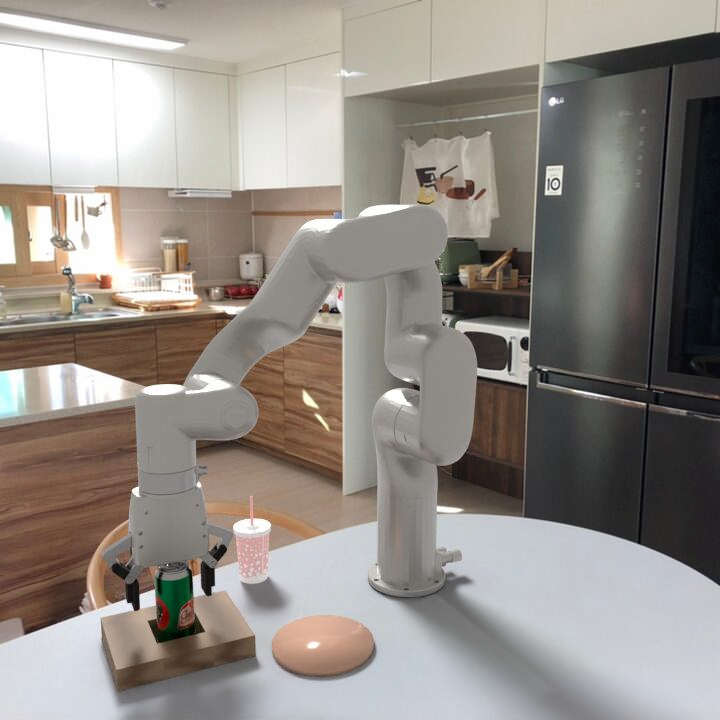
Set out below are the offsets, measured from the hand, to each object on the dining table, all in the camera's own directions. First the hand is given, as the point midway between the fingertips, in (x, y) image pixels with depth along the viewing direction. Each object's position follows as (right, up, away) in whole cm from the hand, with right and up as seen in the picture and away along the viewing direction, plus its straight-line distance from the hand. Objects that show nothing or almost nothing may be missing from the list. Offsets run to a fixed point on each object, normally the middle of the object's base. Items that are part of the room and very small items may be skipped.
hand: (171, 599), depth 104 cm
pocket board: (0, -7, +2) cm, 7 cm away
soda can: (0, -7, +2) cm, 7 cm away
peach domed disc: (+21, -7, +1) cm, 22 cm away
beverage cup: (+8, -3, +22) cm, 23 cm away
